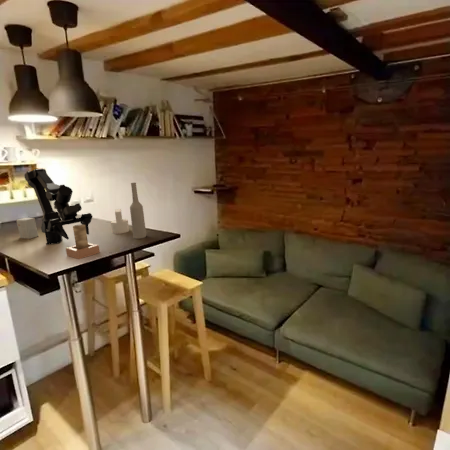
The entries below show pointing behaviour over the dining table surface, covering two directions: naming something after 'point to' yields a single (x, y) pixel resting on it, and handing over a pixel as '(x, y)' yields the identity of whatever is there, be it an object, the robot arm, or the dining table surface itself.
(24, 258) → the dining table surface
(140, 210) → the bottle
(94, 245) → the socket
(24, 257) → the dining table surface
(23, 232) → the small box
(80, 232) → the peg
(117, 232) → the base with upright slab
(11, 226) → the dining table surface
